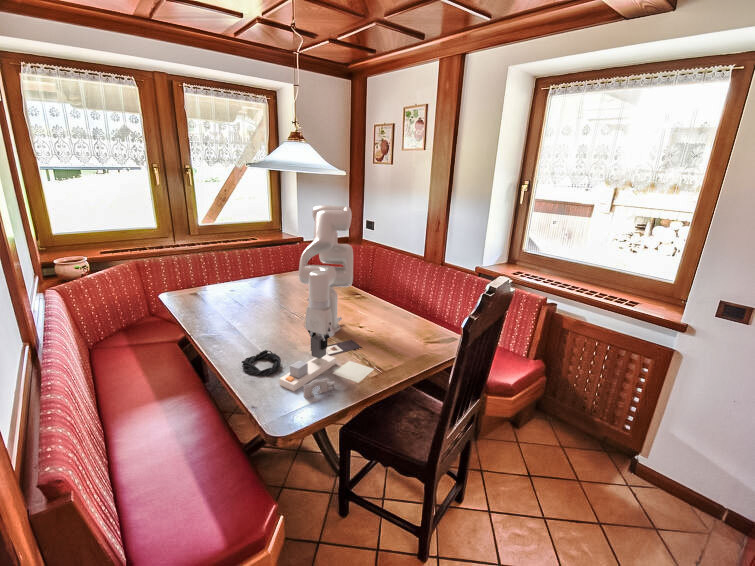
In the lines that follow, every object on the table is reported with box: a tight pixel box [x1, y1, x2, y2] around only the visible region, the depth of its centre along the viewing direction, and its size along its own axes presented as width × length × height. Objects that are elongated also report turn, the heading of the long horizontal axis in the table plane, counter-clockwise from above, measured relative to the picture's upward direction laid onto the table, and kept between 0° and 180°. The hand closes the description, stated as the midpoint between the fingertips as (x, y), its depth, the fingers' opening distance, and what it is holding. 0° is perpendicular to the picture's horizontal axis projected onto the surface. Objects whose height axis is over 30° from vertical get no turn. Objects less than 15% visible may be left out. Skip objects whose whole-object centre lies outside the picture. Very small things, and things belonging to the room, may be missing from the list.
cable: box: [241, 349, 282, 377], centre depth 146 cm, size 17×14×4 cm
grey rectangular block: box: [310, 333, 327, 359], centre depth 145 cm, size 5×4×8 cm
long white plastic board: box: [278, 355, 337, 392], centre depth 142 cm, size 24×7×4 cm, turn 149°
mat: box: [331, 360, 375, 384], centre depth 146 cm, size 12×12×1 cm
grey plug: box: [289, 359, 308, 379], centre depth 137 cm, size 5×4×6 cm
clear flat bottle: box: [302, 377, 336, 399], centre depth 130 cm, size 12×2×6 cm, turn 125°
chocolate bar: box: [326, 339, 363, 357], centre depth 164 cm, size 9×1×18 cm
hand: (319, 346), depth 145 cm, fingers closed on grey rectangular block, 4 cm apart
